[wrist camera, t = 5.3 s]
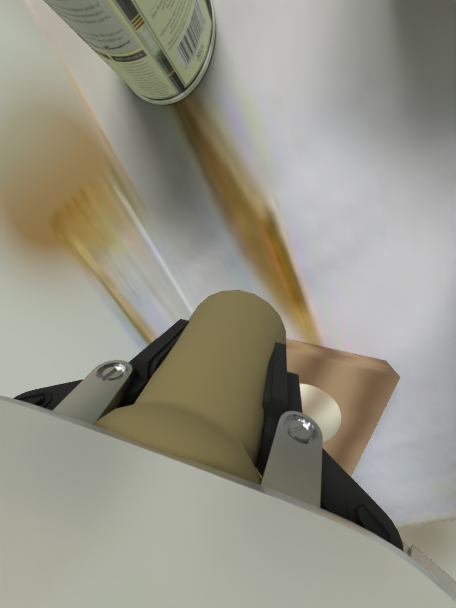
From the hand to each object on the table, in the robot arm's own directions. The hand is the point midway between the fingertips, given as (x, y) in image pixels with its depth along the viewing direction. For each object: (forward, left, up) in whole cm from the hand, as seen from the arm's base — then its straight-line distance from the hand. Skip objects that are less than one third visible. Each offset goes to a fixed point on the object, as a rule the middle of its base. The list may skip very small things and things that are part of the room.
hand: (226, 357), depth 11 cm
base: (-8, +13, -15) cm, 22 cm away
